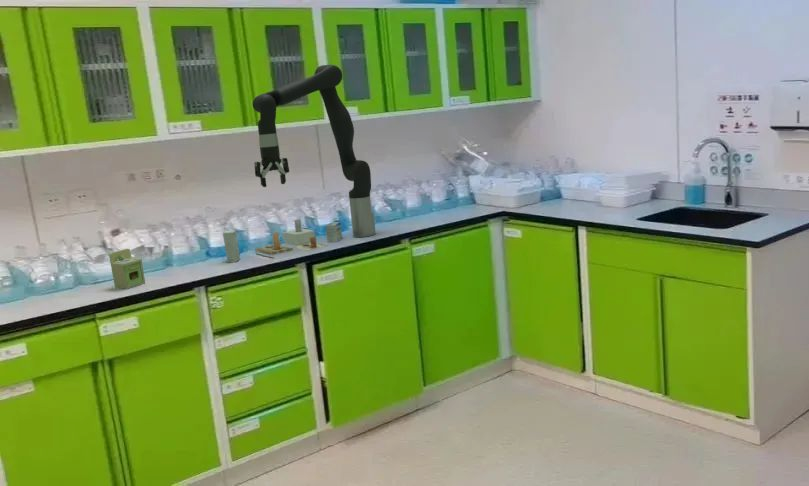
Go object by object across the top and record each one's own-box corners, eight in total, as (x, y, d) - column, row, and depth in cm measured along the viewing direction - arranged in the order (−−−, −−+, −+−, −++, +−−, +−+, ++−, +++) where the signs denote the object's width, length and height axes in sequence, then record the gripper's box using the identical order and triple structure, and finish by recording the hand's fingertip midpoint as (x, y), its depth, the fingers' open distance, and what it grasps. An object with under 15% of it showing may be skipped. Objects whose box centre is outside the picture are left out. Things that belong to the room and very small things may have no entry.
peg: (279, 254, 312) (276, 232, 310) (282, 254, 310) (279, 233, 308) (274, 255, 310) (271, 233, 308) (276, 255, 308) (274, 234, 306)
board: (313, 245, 322) (311, 233, 321) (328, 249, 313) (326, 235, 312) (292, 250, 316) (291, 237, 315) (307, 253, 307) (306, 240, 306)
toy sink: (126, 289, 273) (120, 254, 270) (114, 288, 277) (108, 253, 275) (146, 283, 280) (141, 248, 277) (134, 282, 284) (128, 247, 281)
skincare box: (237, 261, 304) (233, 232, 301) (226, 262, 304) (222, 233, 301) (240, 258, 310) (236, 229, 307) (229, 259, 310) (225, 230, 307)
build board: (276, 249, 321) (276, 243, 320) (293, 253, 310) (293, 247, 309) (255, 254, 315) (254, 248, 314) (272, 258, 304) (271, 252, 303)
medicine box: (337, 245, 319) (335, 225, 317) (327, 245, 320) (325, 225, 318) (342, 241, 327) (340, 221, 325) (332, 241, 327) (330, 222, 326)
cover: (302, 241, 333) (299, 217, 331) (316, 244, 325) (313, 219, 323) (284, 245, 328) (281, 220, 326) (297, 248, 320) (294, 222, 317)
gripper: (257, 147, 297) (262, 188, 300) (289, 143, 306) (293, 183, 309) (248, 147, 303) (253, 187, 306) (280, 143, 312) (284, 182, 315)
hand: (273, 185), depth 308 cm, fingers open, 8 cm apart
